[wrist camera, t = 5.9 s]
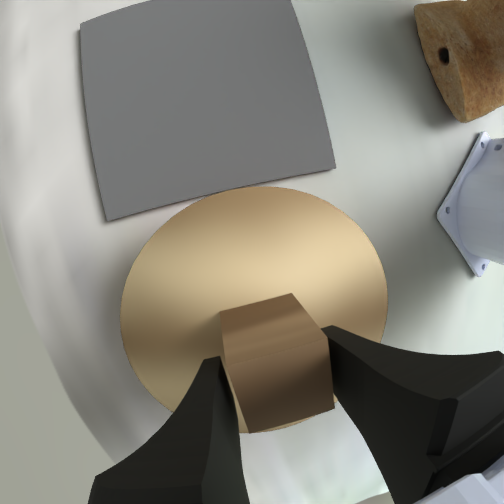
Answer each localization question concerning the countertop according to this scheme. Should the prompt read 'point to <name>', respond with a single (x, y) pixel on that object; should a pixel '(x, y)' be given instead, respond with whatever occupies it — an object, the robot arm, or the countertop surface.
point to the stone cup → (465, 53)
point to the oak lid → (252, 301)
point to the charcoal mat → (198, 100)
